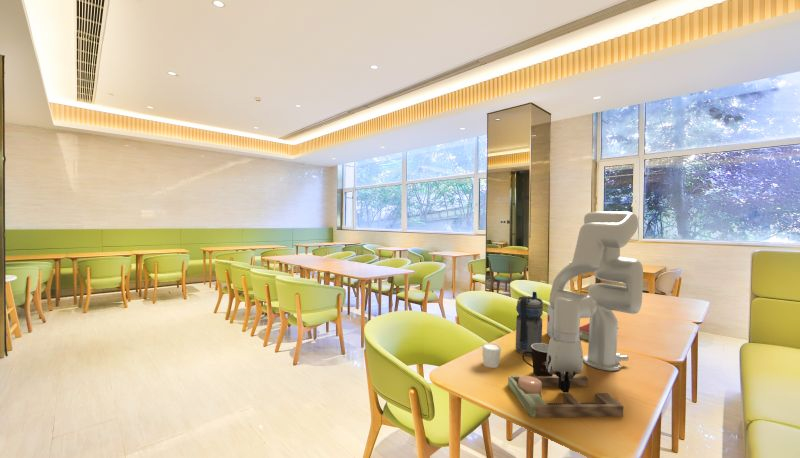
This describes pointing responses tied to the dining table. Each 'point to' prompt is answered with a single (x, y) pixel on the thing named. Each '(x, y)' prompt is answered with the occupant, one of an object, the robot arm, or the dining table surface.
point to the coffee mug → (539, 359)
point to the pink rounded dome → (530, 385)
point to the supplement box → (550, 321)
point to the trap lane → (565, 400)
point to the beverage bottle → (528, 323)
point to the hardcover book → (584, 331)
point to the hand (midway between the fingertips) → (563, 390)
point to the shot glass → (491, 355)
